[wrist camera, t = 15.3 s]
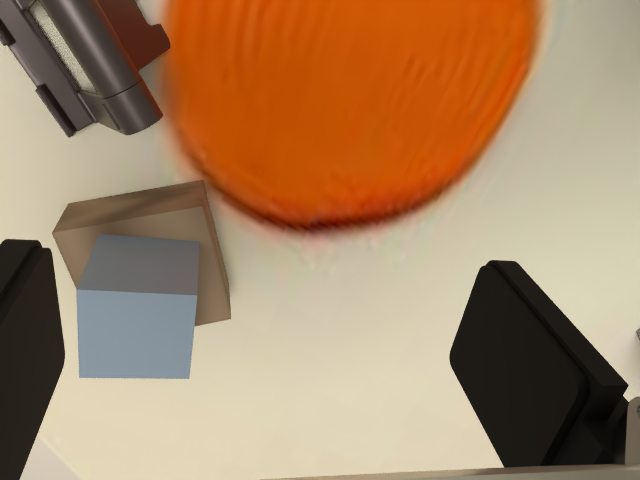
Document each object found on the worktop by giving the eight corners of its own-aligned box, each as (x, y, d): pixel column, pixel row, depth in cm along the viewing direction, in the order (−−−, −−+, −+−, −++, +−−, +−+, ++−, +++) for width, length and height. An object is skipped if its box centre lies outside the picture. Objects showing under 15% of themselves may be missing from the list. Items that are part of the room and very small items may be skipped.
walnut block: (203, 178, 35) (202, 206, 31) (229, 283, 40) (231, 318, 36) (69, 201, 34) (51, 232, 30) (111, 306, 39) (101, 345, 35)
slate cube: (199, 241, 32) (197, 295, 27) (192, 316, 35) (189, 378, 30) (98, 233, 31) (76, 289, 26) (99, 312, 33) (79, 377, 28)
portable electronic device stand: (-27, -19, 27) (-111, -9, 20) (105, -81, 27) (68, -94, 20) (74, 128, 32) (35, 179, 24) (188, 76, 31) (182, 111, 24)
